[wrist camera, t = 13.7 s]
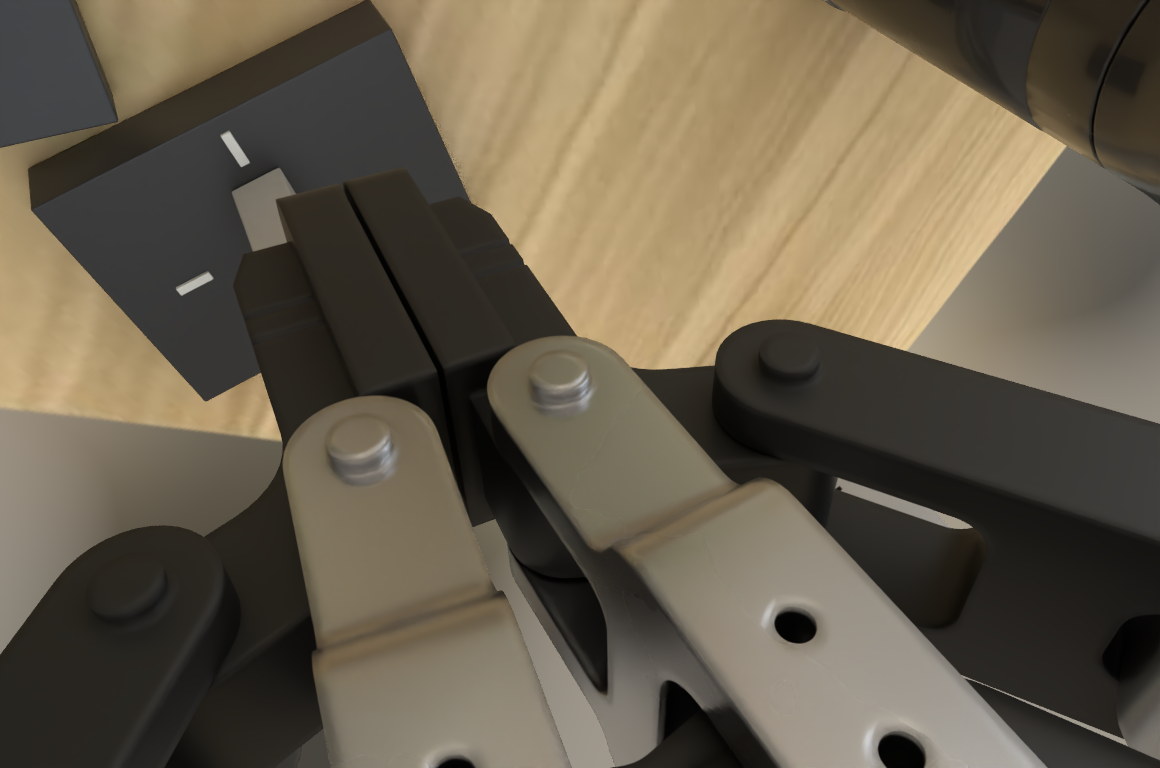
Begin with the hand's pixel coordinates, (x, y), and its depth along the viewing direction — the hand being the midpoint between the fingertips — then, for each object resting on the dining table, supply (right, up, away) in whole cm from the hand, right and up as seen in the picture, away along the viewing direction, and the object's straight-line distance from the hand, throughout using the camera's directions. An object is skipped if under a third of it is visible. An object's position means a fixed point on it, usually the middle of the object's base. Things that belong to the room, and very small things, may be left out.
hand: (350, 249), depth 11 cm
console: (-10, +6, +29) cm, 31 cm away
